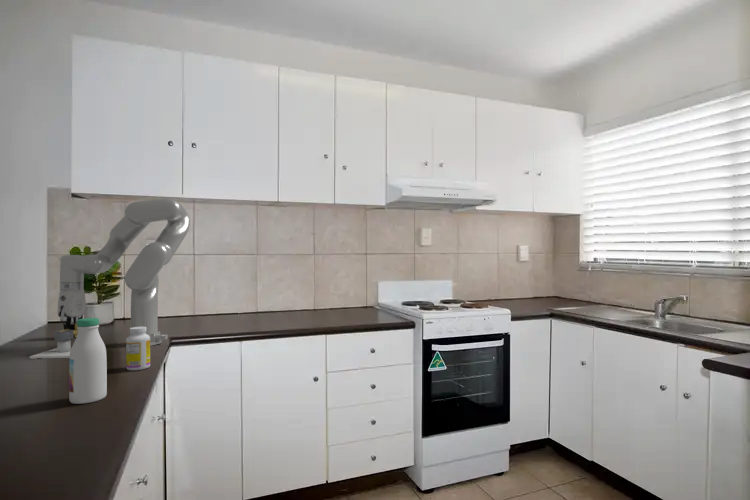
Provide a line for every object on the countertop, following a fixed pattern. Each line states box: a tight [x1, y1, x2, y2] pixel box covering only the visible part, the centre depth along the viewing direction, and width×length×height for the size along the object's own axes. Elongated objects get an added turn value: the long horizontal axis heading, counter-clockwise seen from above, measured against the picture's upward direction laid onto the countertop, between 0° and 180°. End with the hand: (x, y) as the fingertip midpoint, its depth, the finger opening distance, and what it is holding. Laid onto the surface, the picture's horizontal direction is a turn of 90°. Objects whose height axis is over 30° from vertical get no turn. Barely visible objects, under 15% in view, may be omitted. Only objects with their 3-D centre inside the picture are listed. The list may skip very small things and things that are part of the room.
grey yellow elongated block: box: [53, 324, 78, 342], centre depth 157 cm, size 12×6×5 cm, turn 5°
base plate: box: [29, 339, 72, 360], centre depth 154 cm, size 14×14×5 cm
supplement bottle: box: [125, 327, 151, 371], centre depth 133 cm, size 7×7×13 cm
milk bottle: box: [68, 317, 108, 405], centre depth 104 cm, size 8×8×20 cm
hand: (70, 334), depth 162 cm, fingers closed
